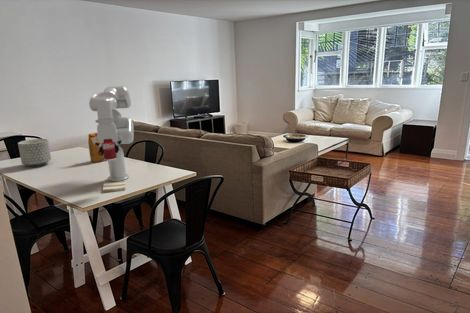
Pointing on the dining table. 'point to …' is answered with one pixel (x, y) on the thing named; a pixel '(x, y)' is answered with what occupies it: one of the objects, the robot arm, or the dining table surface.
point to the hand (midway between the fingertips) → (109, 152)
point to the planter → (34, 152)
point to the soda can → (109, 149)
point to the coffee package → (94, 149)
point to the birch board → (114, 186)
